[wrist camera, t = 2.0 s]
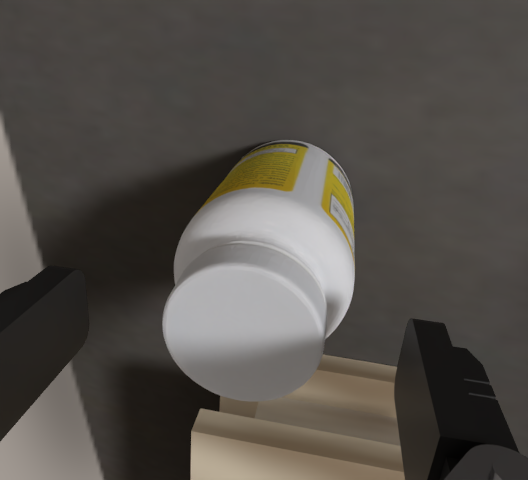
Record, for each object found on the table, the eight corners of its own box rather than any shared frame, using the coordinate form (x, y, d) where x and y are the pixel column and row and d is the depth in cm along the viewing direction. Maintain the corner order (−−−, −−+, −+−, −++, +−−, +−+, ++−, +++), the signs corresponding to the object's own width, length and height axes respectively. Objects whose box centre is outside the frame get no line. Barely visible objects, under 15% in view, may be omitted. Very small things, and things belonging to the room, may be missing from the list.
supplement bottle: (206, 218, 21) (100, 355, 12) (265, 112, 19) (189, 184, 10) (309, 280, 21) (280, 456, 12) (380, 182, 19) (406, 314, 10)
